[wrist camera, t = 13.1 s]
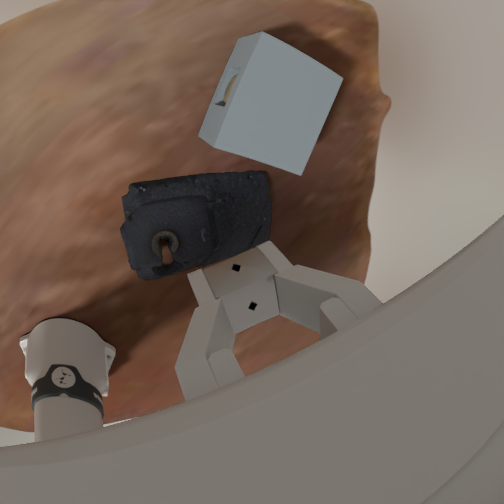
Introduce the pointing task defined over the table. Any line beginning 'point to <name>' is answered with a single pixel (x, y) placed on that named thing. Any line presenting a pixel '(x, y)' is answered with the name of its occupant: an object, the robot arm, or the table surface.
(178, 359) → the robot arm
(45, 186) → the table surface
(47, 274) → the table surface
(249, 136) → the socket block
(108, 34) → the table surface
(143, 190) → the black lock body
